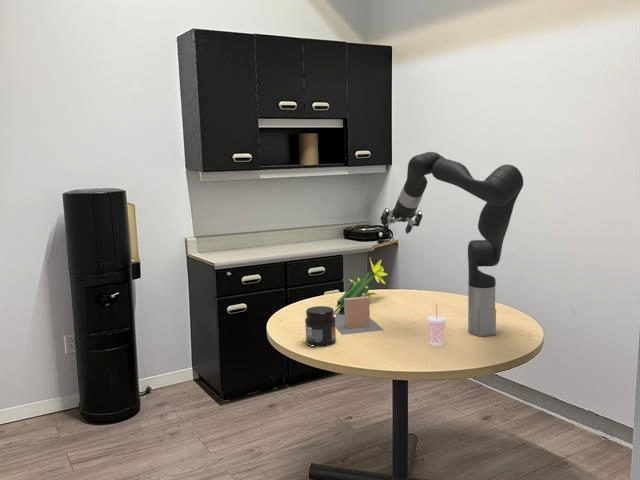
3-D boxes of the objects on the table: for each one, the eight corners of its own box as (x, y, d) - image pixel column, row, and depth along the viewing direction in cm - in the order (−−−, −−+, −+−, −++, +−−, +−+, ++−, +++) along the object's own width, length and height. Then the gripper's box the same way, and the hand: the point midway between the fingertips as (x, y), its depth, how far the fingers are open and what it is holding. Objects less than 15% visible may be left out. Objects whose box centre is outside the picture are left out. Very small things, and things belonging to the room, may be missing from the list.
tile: (369, 326, 221) (369, 297, 219) (346, 328, 219) (345, 300, 217) (367, 324, 223) (367, 296, 222) (344, 326, 221) (344, 298, 220)
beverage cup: (424, 342, 202) (423, 302, 200) (439, 339, 204) (439, 300, 202) (433, 348, 197) (433, 307, 194) (449, 345, 199) (449, 304, 196)
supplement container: (339, 339, 209) (338, 306, 207) (331, 349, 199) (330, 314, 197) (310, 337, 212) (309, 305, 210) (302, 347, 202) (300, 313, 200)
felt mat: (384, 331, 216) (384, 330, 216) (342, 335, 212) (342, 334, 212) (362, 312, 241) (362, 311, 241) (324, 316, 237) (324, 315, 237)
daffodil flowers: (318, 313, 244) (356, 275, 271) (348, 333, 240) (383, 293, 267) (331, 284, 234) (369, 248, 261) (361, 304, 230) (397, 265, 257)
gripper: (391, 206, 202) (379, 237, 213) (430, 208, 205) (416, 239, 216) (387, 190, 206) (375, 222, 218) (426, 193, 210) (411, 224, 221)
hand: (395, 231), depth 217 cm, fingers open, 8 cm apart
